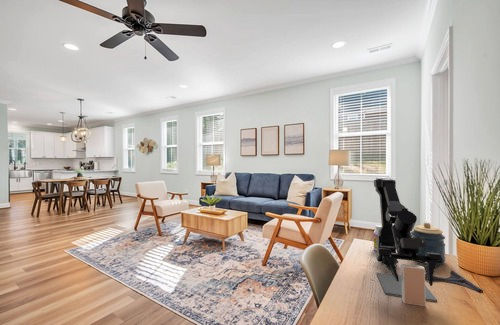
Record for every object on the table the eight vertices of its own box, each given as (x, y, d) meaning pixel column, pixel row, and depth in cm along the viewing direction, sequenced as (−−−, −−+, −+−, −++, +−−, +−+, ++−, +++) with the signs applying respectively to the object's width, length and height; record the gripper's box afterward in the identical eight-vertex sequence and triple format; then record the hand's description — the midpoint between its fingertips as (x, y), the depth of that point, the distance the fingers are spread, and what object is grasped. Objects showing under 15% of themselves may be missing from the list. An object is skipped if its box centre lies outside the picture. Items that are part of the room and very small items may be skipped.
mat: (376, 273, 96) (376, 272, 96) (419, 279, 91) (418, 277, 91) (385, 294, 81) (385, 292, 81) (437, 301, 76) (437, 300, 76)
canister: (428, 266, 102) (427, 226, 102) (404, 255, 115) (403, 220, 115) (453, 264, 104) (452, 225, 104) (427, 253, 117) (426, 218, 117)
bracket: (414, 272, 98) (414, 265, 98) (454, 274, 95) (454, 268, 95) (435, 291, 84) (435, 283, 84) (483, 294, 81) (483, 286, 81)
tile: (401, 299, 77) (401, 263, 77) (423, 302, 75) (422, 266, 76) (404, 303, 75) (403, 266, 75) (426, 306, 73) (425, 269, 73)
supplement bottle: (370, 249, 124) (370, 225, 124) (379, 247, 126) (379, 223, 126) (382, 253, 117) (381, 228, 118) (391, 251, 120) (390, 226, 120)
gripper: (377, 225, 83) (385, 269, 72) (440, 229, 77) (459, 277, 66) (373, 240, 90) (380, 282, 79) (431, 245, 84) (446, 291, 73)
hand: (414, 283), depth 74 cm, fingers open, 9 cm apart
